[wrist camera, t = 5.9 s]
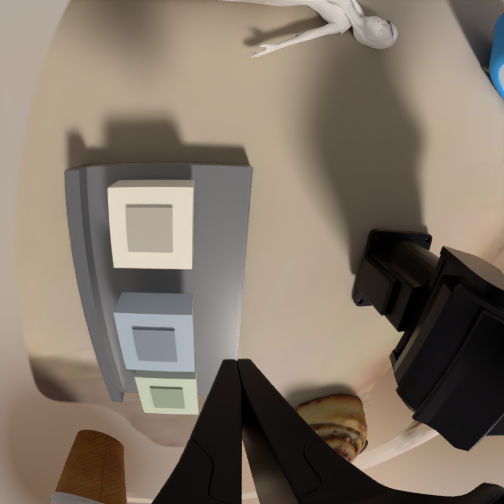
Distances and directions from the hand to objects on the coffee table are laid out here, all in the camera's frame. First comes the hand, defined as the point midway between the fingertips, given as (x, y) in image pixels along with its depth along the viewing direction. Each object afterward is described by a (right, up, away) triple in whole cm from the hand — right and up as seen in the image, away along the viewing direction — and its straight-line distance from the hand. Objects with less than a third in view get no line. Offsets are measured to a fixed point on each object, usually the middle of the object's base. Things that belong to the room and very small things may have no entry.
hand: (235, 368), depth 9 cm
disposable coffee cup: (-18, -20, +19) cm, 33 cm away
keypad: (-6, 0, +12) cm, 13 cm away
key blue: (-5, -1, +9) cm, 11 cm away
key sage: (-6, -6, +13) cm, 15 cm away
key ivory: (-5, +6, +8) cm, 11 cm away
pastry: (+8, -18, +23) cm, 31 cm away
